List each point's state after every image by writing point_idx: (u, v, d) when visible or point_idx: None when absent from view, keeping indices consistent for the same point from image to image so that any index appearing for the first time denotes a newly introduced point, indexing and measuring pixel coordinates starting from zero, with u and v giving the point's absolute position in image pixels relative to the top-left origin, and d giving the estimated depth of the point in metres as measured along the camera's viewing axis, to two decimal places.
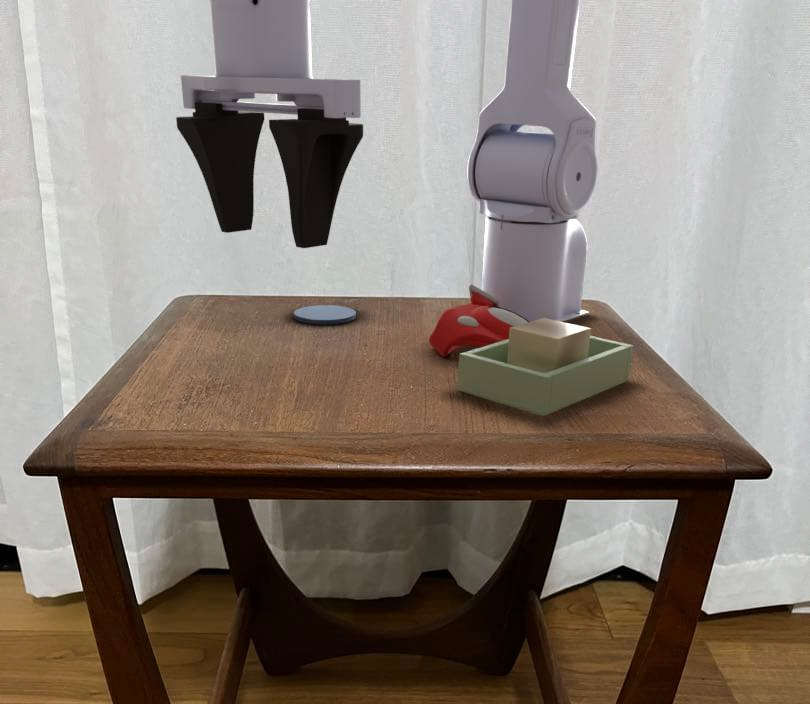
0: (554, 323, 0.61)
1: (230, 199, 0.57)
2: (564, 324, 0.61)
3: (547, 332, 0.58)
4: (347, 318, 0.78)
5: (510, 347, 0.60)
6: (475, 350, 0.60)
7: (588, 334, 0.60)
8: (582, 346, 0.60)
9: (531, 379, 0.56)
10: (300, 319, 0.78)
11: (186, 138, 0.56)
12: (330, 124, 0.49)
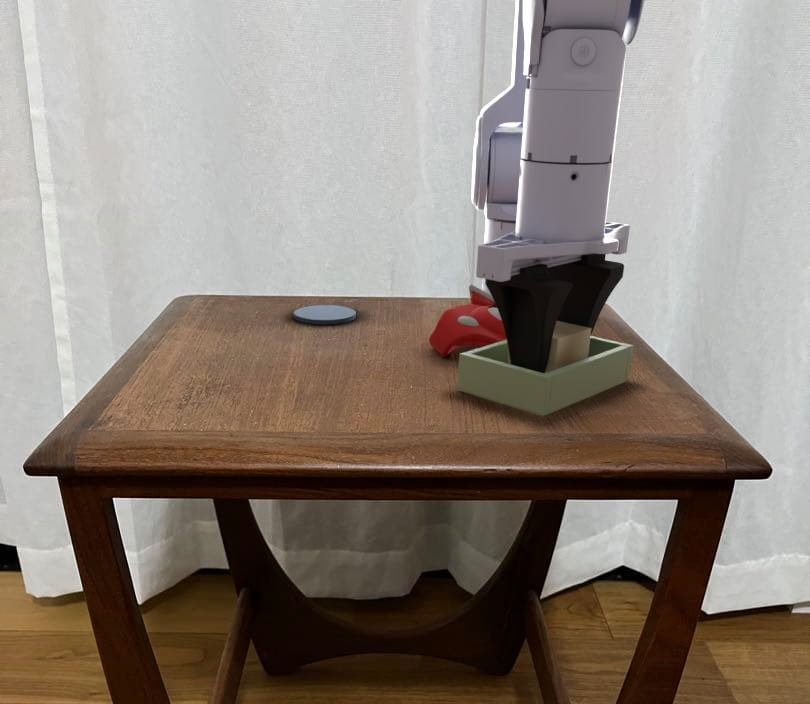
0: None
1: None
2: (564, 324, 0.61)
3: None
4: (347, 318, 0.78)
5: None
6: (475, 350, 0.60)
7: (588, 334, 0.60)
8: (582, 345, 0.60)
9: (531, 379, 0.56)
10: (300, 319, 0.78)
11: (550, 304, 0.55)
12: None
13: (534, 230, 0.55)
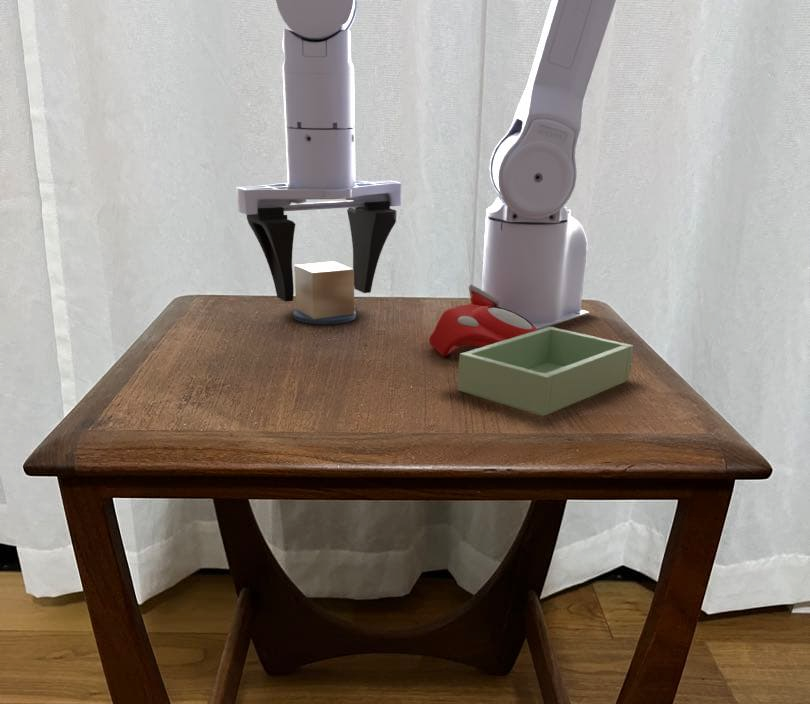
0: (333, 264, 0.78)
1: None
2: (339, 265, 0.78)
3: (313, 269, 0.76)
4: (347, 318, 0.78)
5: (295, 280, 0.78)
6: (475, 350, 0.60)
7: (351, 273, 0.77)
8: (344, 282, 0.77)
9: (531, 379, 0.56)
10: (300, 319, 0.78)
11: (275, 236, 0.72)
12: None
13: (290, 179, 0.73)
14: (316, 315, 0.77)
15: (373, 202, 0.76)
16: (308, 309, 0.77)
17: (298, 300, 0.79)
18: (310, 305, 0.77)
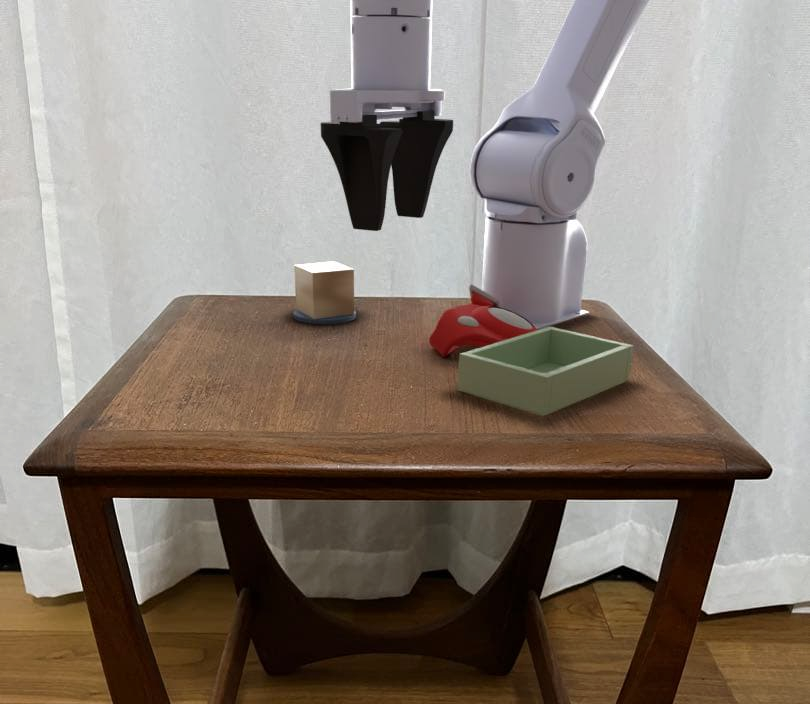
0: (333, 264, 0.78)
1: None
2: (339, 265, 0.78)
3: (313, 269, 0.76)
4: (347, 318, 0.78)
5: (295, 280, 0.78)
6: (475, 350, 0.60)
7: (351, 273, 0.77)
8: (344, 282, 0.77)
9: (531, 379, 0.56)
10: (300, 319, 0.78)
11: (386, 148, 0.60)
12: None
13: (372, 81, 0.61)
14: (316, 315, 0.77)
15: (424, 111, 0.68)
16: (308, 309, 0.77)
17: (298, 300, 0.79)
18: (310, 305, 0.77)
